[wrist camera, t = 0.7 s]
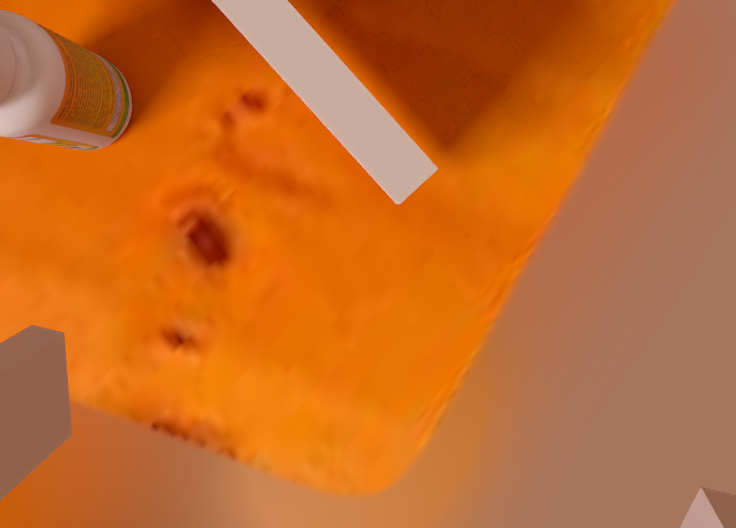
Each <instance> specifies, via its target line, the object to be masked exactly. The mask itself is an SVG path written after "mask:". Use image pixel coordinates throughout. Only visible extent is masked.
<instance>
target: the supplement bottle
mask: <svg viewBox="0 0 736 528" xmlns="http://www.w3.org/2000/svg"><path fill="white" fill-rule="evenodd" d="M131 113H132V96H131V92H130V89H129V86H128V83H127V81H126V79H125V78H124V76H123V74H122V73H121V72H120V71H119V69H118V68H117V67H116V66H115V65H114V64H112V63H111V62H110V61H108V60H107V59H105V58H103V57H102V56H100V55H98V54H96V53H94V52H92V51H90V50H88V49H86V48H84V47H82V46H80V45H78V44H76V43H74V42H72V41H70V40H68V39H66V38H64V37H62V36H60V35H58V34H57V33H55V32H53V31H51V30H49V29H47V28H45V27H43V26H41V25H39V24H37V23H35V22H33V21H31V20H29V19H28V18H25V17H23V16H20V15H18V14H15V13H12V12H9V11H4V10H0V136H1V137H7V138H13V139H19V140H25V141H30V142H35V143H42V144H48V145H53V146H59V147H65V148H70V149H77V150H96V149H100V148H104V147H106V146H108V145H110V144H112V143H113V142H114V141H116V140H117V139H118V138H119V137H120V136H121V135H122V133H123V132H124V130H125V129H126V127H127V125H128V123H129V120H130V117H131Z"/></svg>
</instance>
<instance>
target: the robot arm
mask: <svg viewBox="0 0 736 528" xmlns="http://www.w3.org/2000/svg"><path fill="white" fill-rule="evenodd" d="M71 435H72V433H71V418H70V405H69V392H68V378H67V365H66V352H65V338H64V333H63V332H59V331H54V330H50V329H46V328H42V327H38V326H34V325H31V326H29V327H28V328H26V329H24V330H23V331H21V332H19V333H18V334H16V335H14V336H12V337H11V338H9V339H7V340H6V341H4V342H2V343H0V500H1V499H2V498H3V497H5V496H6V495H7V494H8V493H9V492H10V491H11V490H12V489H13V488H14V487H15V486H17V485H18V484H19V483H20V482H21V481H22V480H23V479H24V478H25V477H26V476H27V475H29V473H31V472H32V471H33V470H34V469H35V468H36V467H37V466H38V465H39V464H40V463H42V461H44V460H45V459H46V458H47V457H48V456H49V455H50V454H51V453H52V452H54V451H55V450H56V449H57V448H58V447H59V446H60V445H61V444H62V443H63V442H64V441H65V440H67V439H68V438H69V437H70V436H71ZM680 528H736V495H732V494H727V493H724V492H720V491H715V490H711V489H707V488H703V487H701V488H700V490H699V492H698V494H697V496H696V498H695V500H694V502H693V504H692V506H691V507H690V510H689V511H688V513H687V515H686V517H685V519H684V521H683V523H682V525H681V527H680Z"/></svg>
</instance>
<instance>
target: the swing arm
mask: <svg viewBox="0 0 736 528" xmlns="http://www.w3.org/2000/svg"><path fill="white" fill-rule="evenodd" d="M212 1H213V3H214V4H215V5H216V6H217V7H218V8H219V9H220V10H221V11H222V13H223V14H224V15H225V16H226V17H227V18H228V19H229V20H230V21H231V22H232V24H233V25H234V26H235V27H236V28H237V29H238V30H239V31H240V32H241V33H242V35H243V36H244V37H245V38H246V39H247V40H248V41H249V42H250V43H251V44H252V46H253V47H254V48H255V49H256V50H257V51H258V52H259V53H260V54H261V56H262V57H263V58H264V59H265V60H266V61H267V62H268V63H269V64H270V65H271V67H272V68H273V69H274V70H275V71H276V72H277V73H278V74H279V75H280V76H281V78H282V79H283V80H284V81H285V82H286V83H287V84H288V85H289V86H290V88H291V89H292V90H293V91H294V92H295V93H296V94H297V95H298V96H299V97H300V99H301V100H302V101H303V102H304V103H305V104H306V105H307V106H308V107H309V108H310V110H311V111H312V112H313V113H314V114H315V115H316V116H317V117H318V118H319V119H320V121H321V122H322V123H323V124H324V125H325V126H326V127H327V128H328V129H329V131H330V132H331V133H332V134H333V135H334V136H335V137H336V138H337V139H338V140H339V142H340V143H341V144H342V145H343V146H344V147H345V148H346V149H347V150H348V151H349V153H350V154H351V155H352V156H353V157H354V158H355V159H356V160H357V161H358V163H359V164H360V165H361V166H362V167H363V168H364V169H365V170H366V171H367V172H368V174H369V175H370V176H371V177H372V178H373V179H374V180H375V181H376V182H377V183H378V185H379V186H380V187H381V188H382V189H383V190H384V191H385V192H386V193H387V194H388V196H389V197H390V198H391V199H392V200H393V201H394V202H395V203H396V204H400V203H401V202H403V201H404V200H405V199H406V198H407V197H408V196H409V195H410V194H411V193H412V192H413V191H415V190H416V189H417V188H418V187H419V186H420V185H421V184H422V183H423V182H424V181H425V180H427V179H428V178H429V177H430V176H431V175H432V174H433V173H434V172H435V171H436V170H437V169H438V168H437V167H436V166H435V165H434V163H433V162H432V161H431V160H430V159H429V158H428V157H427V156H426V155H425V153H424V152H423V151H422V150H421V149H420V148H419V147H418V146H417V144H416V143H415V142H414V141H413V140H412V139H411V138H410V137H409V136H408V134H407V133H406V132H405V131H404V130H403V129H402V128H401V127H400V125H399V124H398V123H397V122H396V121H395V120H394V119H393V118H392V117H391V115H390V114H389V113H388V112H387V111H386V110H385V109H384V108H383V107H382V105H381V104H380V103H379V102H378V101H377V100H376V99H375V98H374V96H373V95H372V94H371V93H370V92H369V91H368V90H367V89H366V88H365V86H364V85H363V84H362V83H361V82H360V81H359V80H358V79H357V77H356V76H355V75H354V74H353V73H352V72H351V71H350V70H349V69H348V67H347V66H346V65H345V64H344V63H343V62H342V61H341V60H340V58H339V57H338V56H337V55H336V54H335V53H334V52H333V51H332V50H331V48H330V47H329V46H328V45H327V44H326V43H325V42H324V41H323V39H322V38H321V37H320V36H319V35H318V34H317V33H316V32H315V31H314V29H313V28H312V27H311V26H310V25H309V24H308V23H307V22H306V21H305V19H304V18H303V17H302V16H301V15H300V14H299V13H298V12H297V10H296V9H295V8H294V7H293V6H292V5H291V4H290V3H289V2H288V0H212Z"/></svg>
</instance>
